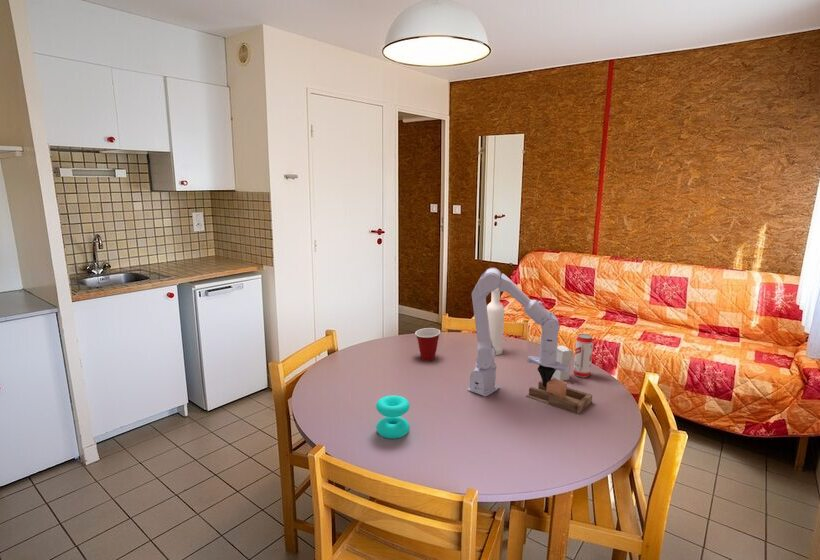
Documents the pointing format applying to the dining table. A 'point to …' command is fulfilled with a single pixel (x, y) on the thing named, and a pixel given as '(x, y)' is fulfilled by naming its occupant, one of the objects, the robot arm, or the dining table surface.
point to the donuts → (392, 416)
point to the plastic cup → (427, 342)
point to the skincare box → (563, 362)
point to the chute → (571, 402)
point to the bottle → (496, 321)
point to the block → (557, 388)
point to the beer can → (583, 355)
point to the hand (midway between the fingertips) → (546, 386)
